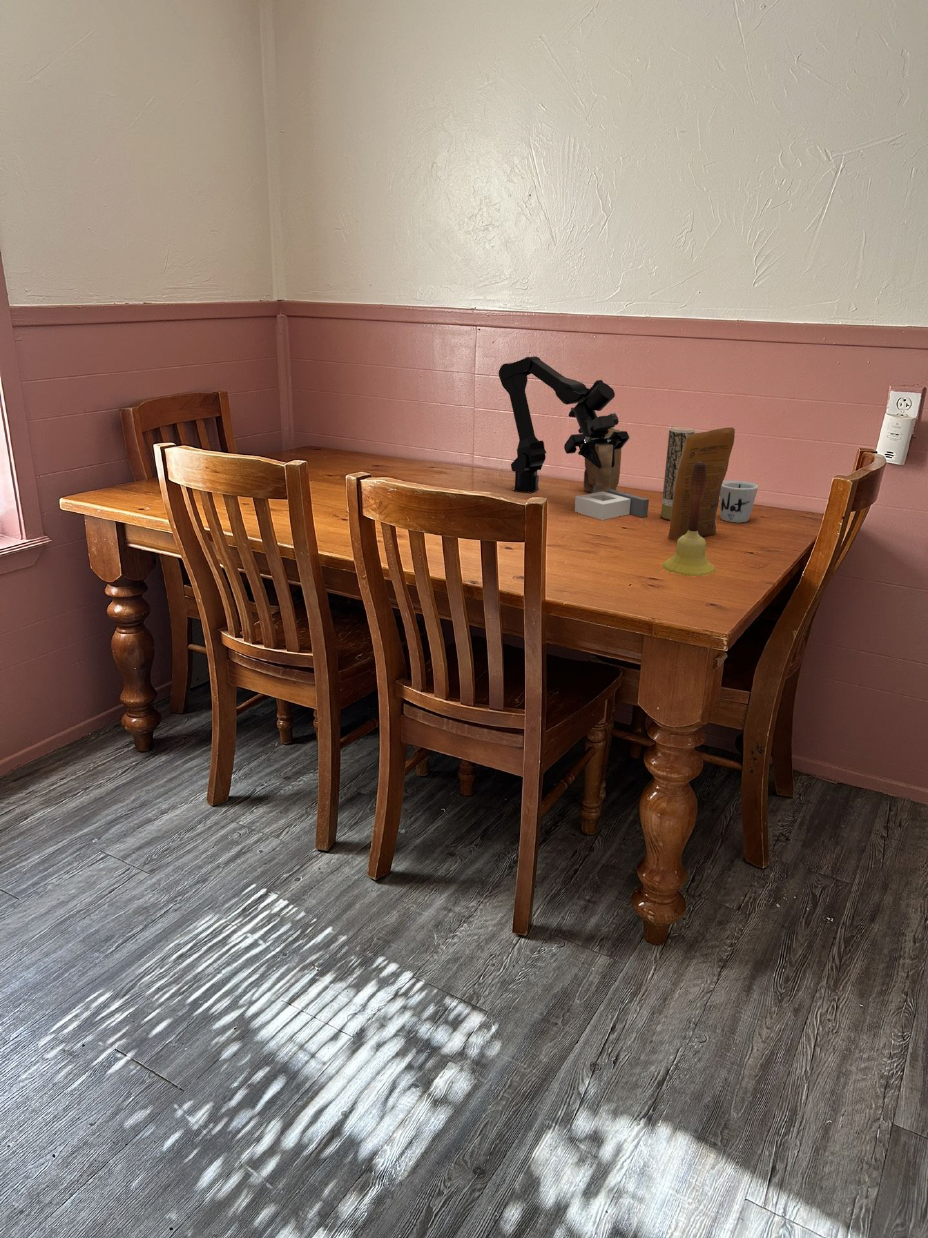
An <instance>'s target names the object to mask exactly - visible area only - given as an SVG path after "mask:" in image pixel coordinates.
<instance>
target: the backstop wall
mask: <svg viewBox="0 0 928 1238" xmlns="http://www.w3.org/2000/svg"><path fill="white" fill-rule="evenodd" d="M595 488H596V486H593V493H597V492H602V491H599V490H596V489H595ZM603 492H607V493H611V494H614V495H618V496H622V497H625V498H629V499H631V502H630V514H629V515H631V516H635V517H639V518H646V517H648V513H649V502H650V499H649V498H645V497H642V496H639V495H638V496H637V495H634V494H631V493H626V492H623V491H620V490H613V489H610V490H609V491H603Z"/></svg>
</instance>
